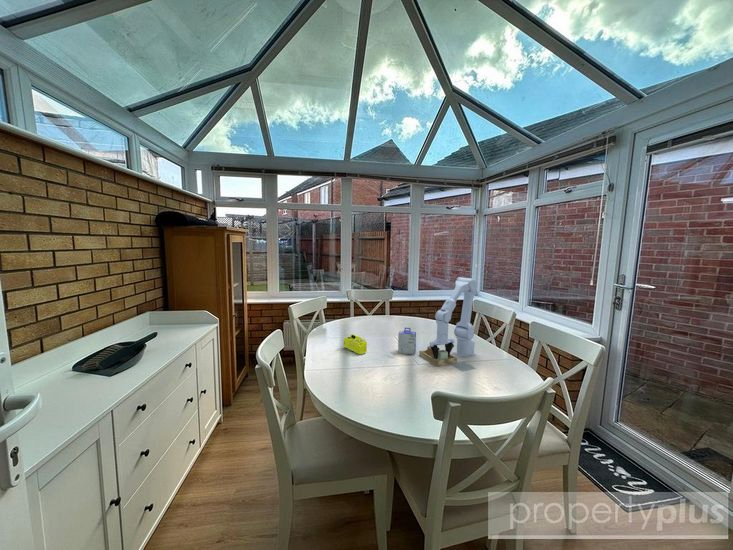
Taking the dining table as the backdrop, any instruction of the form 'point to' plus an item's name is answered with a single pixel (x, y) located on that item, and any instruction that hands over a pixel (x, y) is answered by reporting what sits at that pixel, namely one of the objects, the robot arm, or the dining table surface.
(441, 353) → the sage block
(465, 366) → the rubber pad
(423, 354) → the oak tray
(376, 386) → the dining table surface
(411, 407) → the dining table surface
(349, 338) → the yellow toy chassis
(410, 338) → the ink cartridge box
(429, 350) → the walnut block
